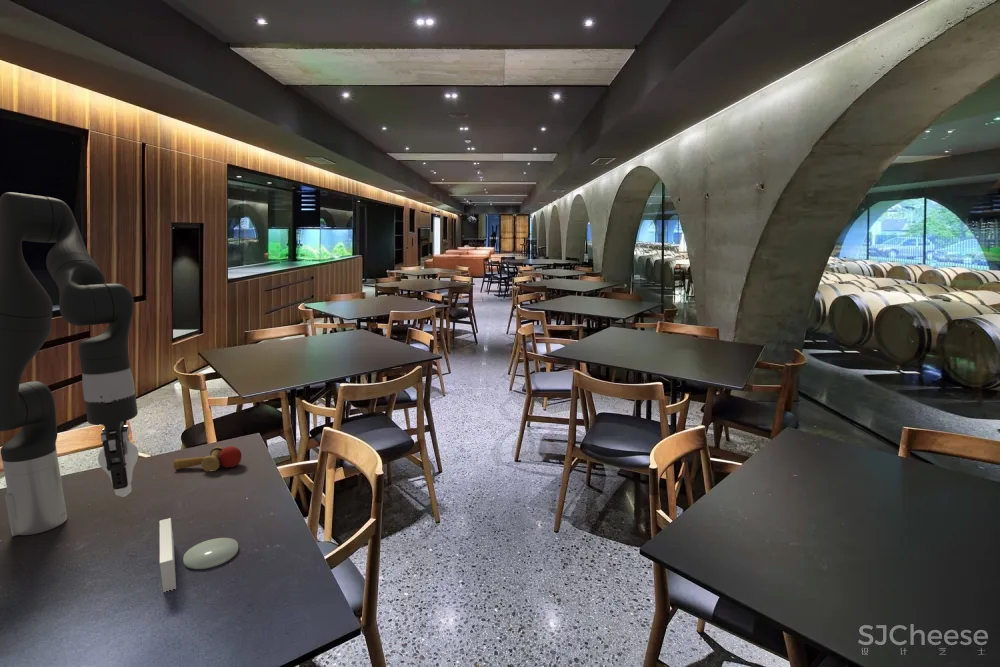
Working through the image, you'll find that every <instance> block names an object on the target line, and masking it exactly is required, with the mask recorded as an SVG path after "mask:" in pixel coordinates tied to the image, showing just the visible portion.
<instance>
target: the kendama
mask: <svg viewBox="0 0 1000 667" xmlns="http://www.w3.org/2000/svg"><path fill="white" fill-rule="evenodd" d="M209 453H210V455H206V456H197V457H188V458H187V457H186V458H176V459H174V461H173V468H174V470H176V471H177V470H181V469H182V470H183V469H186V468H190V467H191V468H192V467H195V466H201V468H202V469H203V470H204V471H206V472H208V471H210V470H214V472H216V471H217V470H218V469H219V468H220V467H221V466H222V467H224V468H229V467H231V468H234V467H236V466H238V465H239V464H240V463H241V461H242V451H241V450H240V449H239V448H238V447H237V446H232V445H231V446H226V447H223V446H219V445H218V446H214V447H213V448H212V449H211V450H210V452H209Z"/></svg>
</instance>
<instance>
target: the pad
mask: <svg viewBox="0 0 1000 667" xmlns="http://www.w3.org/2000/svg"><path fill="white" fill-rule="evenodd" d="M238 551H239V543H238V541H237V540H236V539H234V538H230V537H218V538H217V537H216V538H212V539H208V540H204V541H202V542H199V543H197V544H195V545H194V546H191V547H190V548H189V549H188V550H187V551H186V552H185V553H184V555H183V565H184V567H186V568H188V569H191V570H205V569H209V568H214V567H217V566H220V565H222V564H224V563H226V562H228V561H230V560H231V559H233V558H234V557H235V556H236V555H237V553H238Z"/></svg>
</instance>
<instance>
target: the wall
mask: <svg viewBox="0 0 1000 667" xmlns="http://www.w3.org/2000/svg"><path fill="white" fill-rule="evenodd" d="M175 556H176V555H175V542H174V534H173V526H172V518H171V517H169V518H166V519H162V520H159V568H160V569H159V570H160V575H161V576H160V577H161V583H162V584H161V585H162V590H163V592H165V593H167V592H166V591H168V592H170V591H169V590H171V591H174V590H173V589H175V590H177V581H176V576H177V575H176V562H175V561H176V558H175Z"/></svg>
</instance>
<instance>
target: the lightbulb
mask: <svg viewBox="0 0 1000 667" xmlns="http://www.w3.org/2000/svg"><path fill="white" fill-rule="evenodd" d="M127 444H128V454H126V455H125V460H126V463H127V466H126V472H127V479H128V486H127V487H126V488H121V489H113V490H114V493H115V496H118V497H121V498H124V497H127V496H128V495H129V494H130V493H131V492H132V481H133V472H134V468H135V466H136V464H137V462H138V459H139V449H138V447H137V446H136V445H135V443H133V442H132V441H127ZM123 449H124V446H123V447H122V450H123ZM97 461H98V465H99V466H100V467H101V469H102V470H103V471H104V472H105V473H106V474H107V475H108V476H109V479H110V481H111V484H112V477H111V471H108V469H107V463H106V457H105V456H104V446H103V445H102V447H101V449H100V451H99V453H98V457H97ZM116 462H120V458H114V459H112V463H116ZM112 486H113V484H112Z"/></svg>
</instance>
